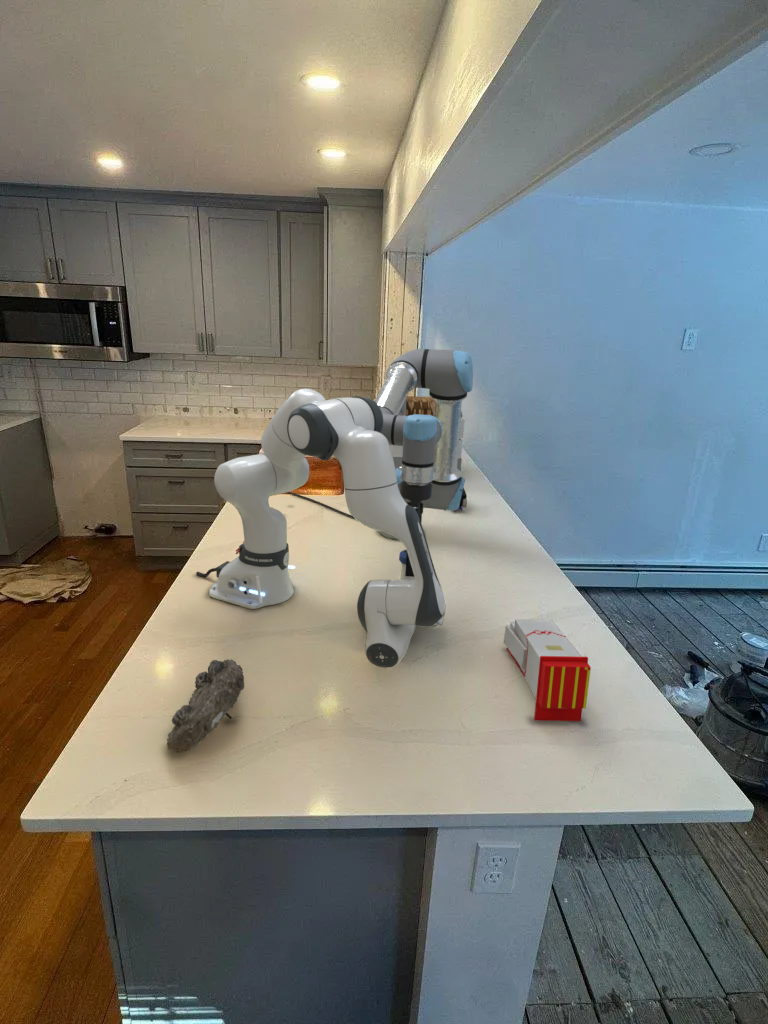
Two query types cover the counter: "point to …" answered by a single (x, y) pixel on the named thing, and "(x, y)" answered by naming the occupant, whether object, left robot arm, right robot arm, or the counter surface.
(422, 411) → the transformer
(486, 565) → the counter surface
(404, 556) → the lid
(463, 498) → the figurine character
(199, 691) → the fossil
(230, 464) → the left robot arm
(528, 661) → the toy
